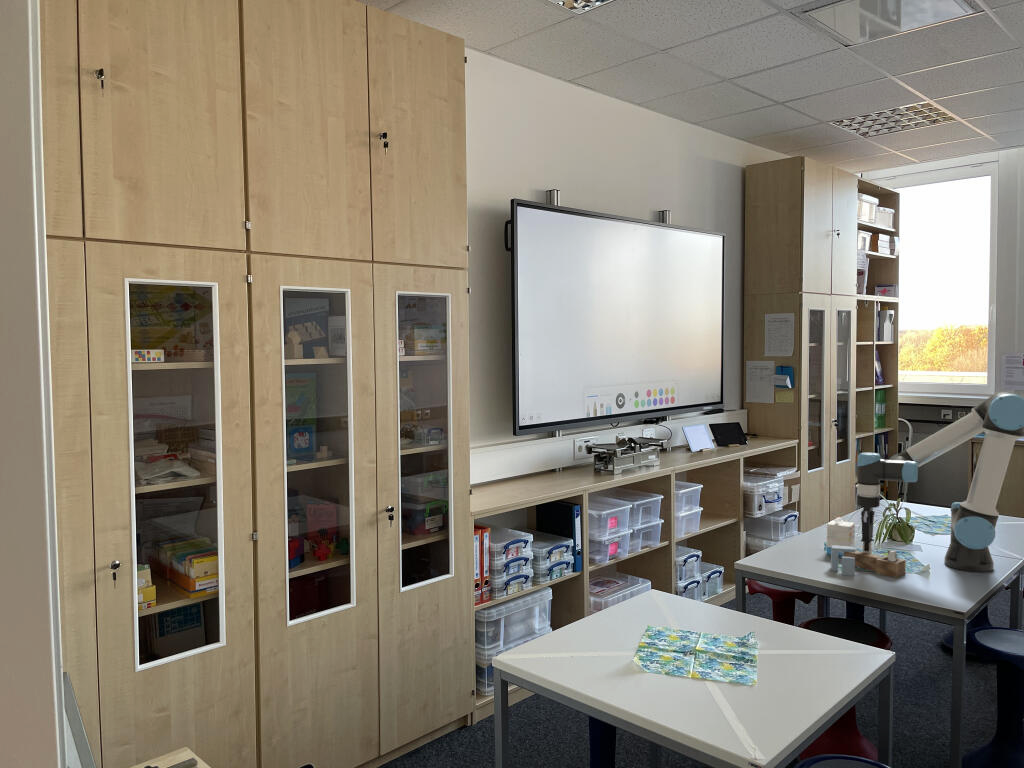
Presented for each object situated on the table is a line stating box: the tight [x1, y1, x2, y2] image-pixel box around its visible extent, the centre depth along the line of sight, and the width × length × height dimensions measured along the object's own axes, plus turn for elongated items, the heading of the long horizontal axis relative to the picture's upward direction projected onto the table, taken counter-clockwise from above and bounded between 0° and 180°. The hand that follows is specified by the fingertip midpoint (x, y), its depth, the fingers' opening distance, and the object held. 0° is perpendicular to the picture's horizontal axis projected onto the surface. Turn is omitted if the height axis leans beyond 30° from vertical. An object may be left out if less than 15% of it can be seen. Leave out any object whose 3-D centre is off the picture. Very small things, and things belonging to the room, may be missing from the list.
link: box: [844, 550, 907, 579], centre depth 264 cm, size 20×7×5 cm, turn 38°
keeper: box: [830, 545, 856, 576], centre depth 262 cm, size 8×8×8 cm
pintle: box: [887, 549, 898, 562], centre depth 259 cm, size 3×3×8 cm
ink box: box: [826, 516, 856, 557], centre depth 286 cm, size 9×8×13 cm
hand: (867, 558), depth 271 cm, fingers closed
